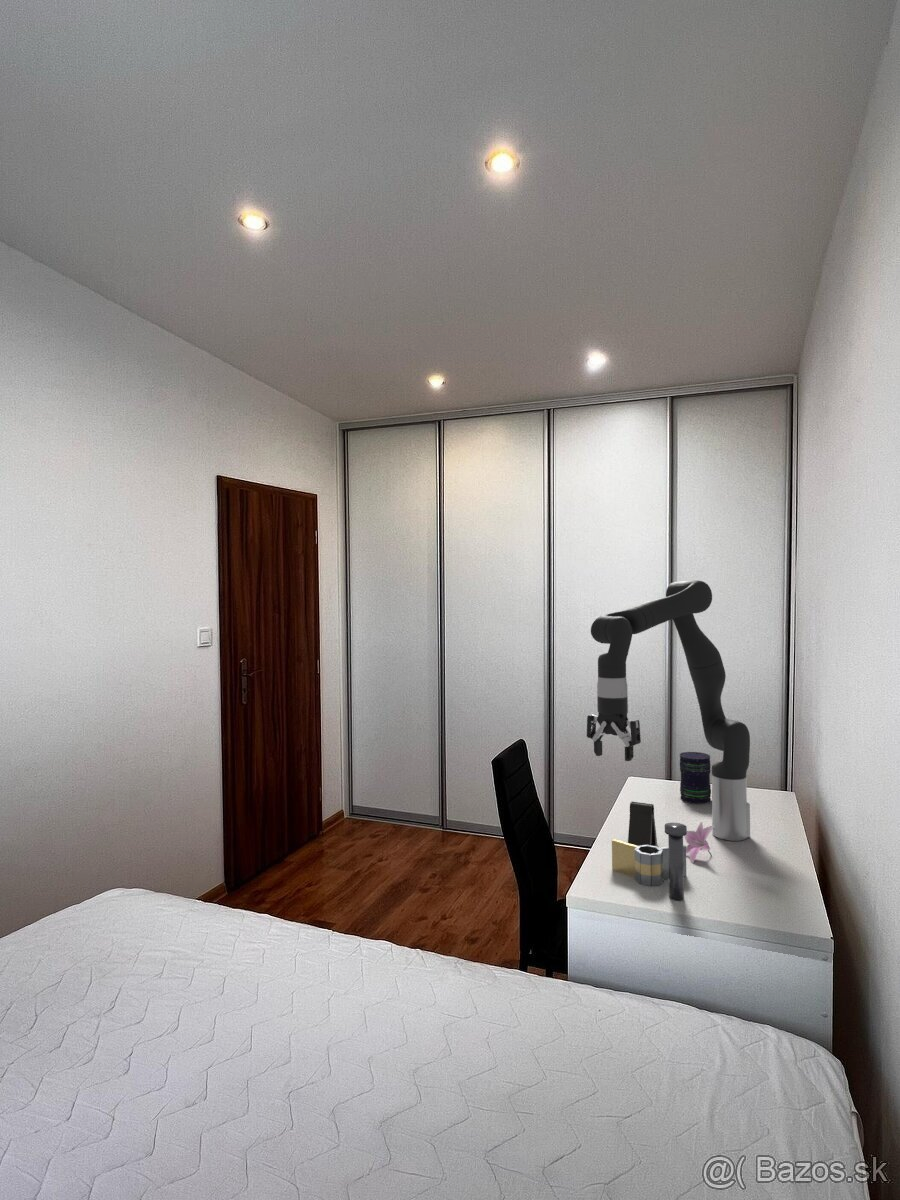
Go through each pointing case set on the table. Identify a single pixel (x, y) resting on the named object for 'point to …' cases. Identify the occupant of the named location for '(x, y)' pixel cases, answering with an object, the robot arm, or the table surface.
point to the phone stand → (642, 824)
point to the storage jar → (695, 777)
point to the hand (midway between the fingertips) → (613, 758)
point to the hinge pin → (676, 859)
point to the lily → (697, 841)
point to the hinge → (643, 862)
